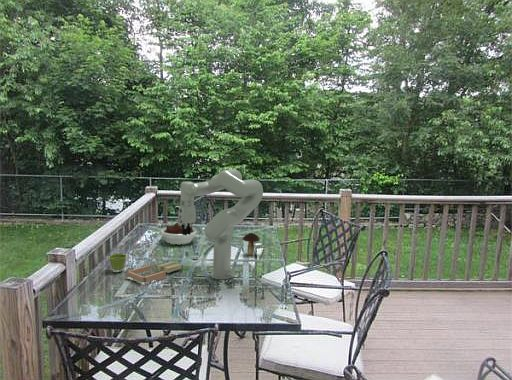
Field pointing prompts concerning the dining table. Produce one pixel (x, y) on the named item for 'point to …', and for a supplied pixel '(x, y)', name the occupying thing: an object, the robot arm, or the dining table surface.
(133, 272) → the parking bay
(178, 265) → the beige rectangular block
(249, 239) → the decorative mushroom
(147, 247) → the dining table surface
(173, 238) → the white bowl with filling
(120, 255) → the plant pot
